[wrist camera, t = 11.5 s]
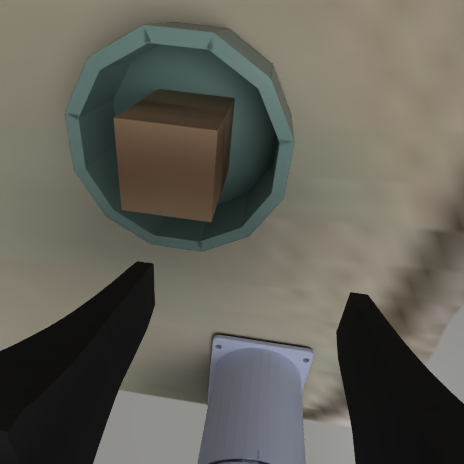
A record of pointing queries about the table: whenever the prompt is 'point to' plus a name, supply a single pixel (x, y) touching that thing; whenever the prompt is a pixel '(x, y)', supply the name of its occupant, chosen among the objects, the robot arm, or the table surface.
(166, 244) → the teal bowl
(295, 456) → the robot arm
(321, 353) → the table surface
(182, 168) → the walnut block
